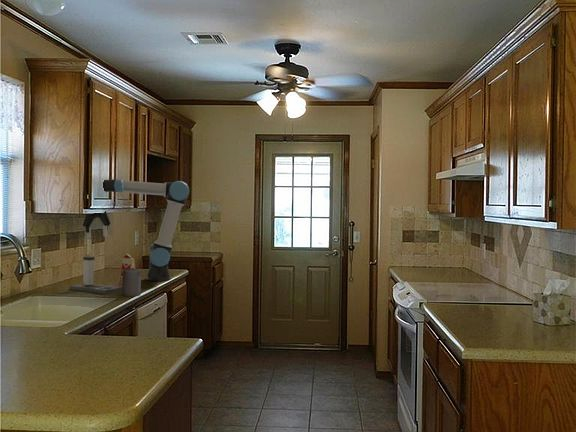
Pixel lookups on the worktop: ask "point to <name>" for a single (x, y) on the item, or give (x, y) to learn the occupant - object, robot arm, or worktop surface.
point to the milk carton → (126, 267)
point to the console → (96, 288)
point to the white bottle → (88, 270)
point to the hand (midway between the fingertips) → (97, 237)
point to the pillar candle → (131, 282)
